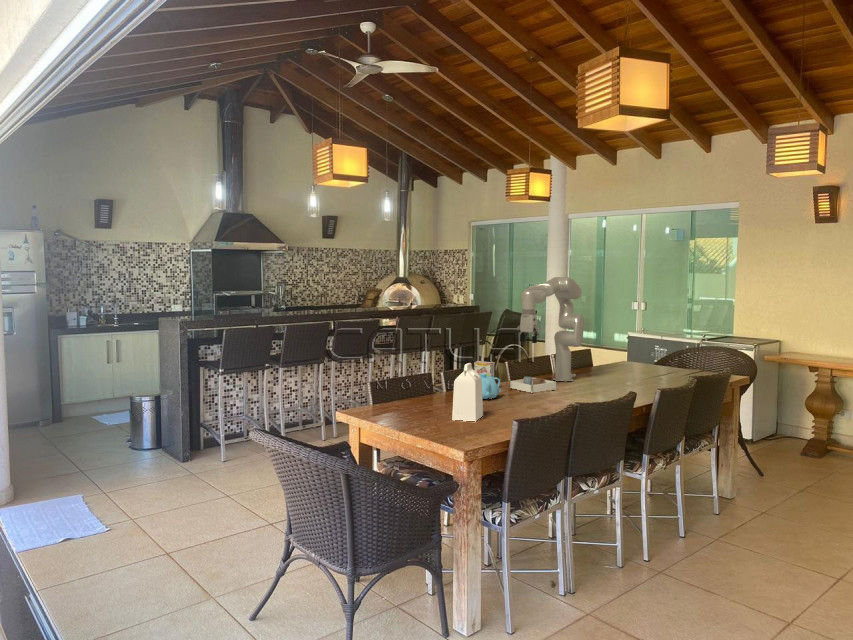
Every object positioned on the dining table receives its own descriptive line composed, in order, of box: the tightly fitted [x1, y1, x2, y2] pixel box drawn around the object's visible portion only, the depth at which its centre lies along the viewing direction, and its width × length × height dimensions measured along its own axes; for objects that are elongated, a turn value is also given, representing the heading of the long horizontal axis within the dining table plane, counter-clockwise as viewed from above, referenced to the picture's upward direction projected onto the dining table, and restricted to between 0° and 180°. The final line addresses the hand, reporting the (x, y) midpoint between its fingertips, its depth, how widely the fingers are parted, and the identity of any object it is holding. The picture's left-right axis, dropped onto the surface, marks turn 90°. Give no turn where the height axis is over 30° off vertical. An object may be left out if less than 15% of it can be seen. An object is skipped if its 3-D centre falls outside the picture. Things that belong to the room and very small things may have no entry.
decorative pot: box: [480, 373, 502, 400], centre depth 352 cm, size 16×16×14 cm
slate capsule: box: [523, 375, 533, 385], centre depth 373 cm, size 5×5×7 cm
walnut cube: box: [533, 377, 546, 385], centre depth 379 cm, size 5×5×5 cm
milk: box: [451, 362, 484, 423], centre depth 304 cm, size 12×12×26 cm
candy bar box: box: [473, 360, 495, 378], centre depth 376 cm, size 11×5×16 cm, turn 58°
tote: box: [509, 377, 558, 393], centre depth 376 cm, size 20×18×5 cm
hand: (528, 342), depth 371 cm, fingers open, 9 cm apart
